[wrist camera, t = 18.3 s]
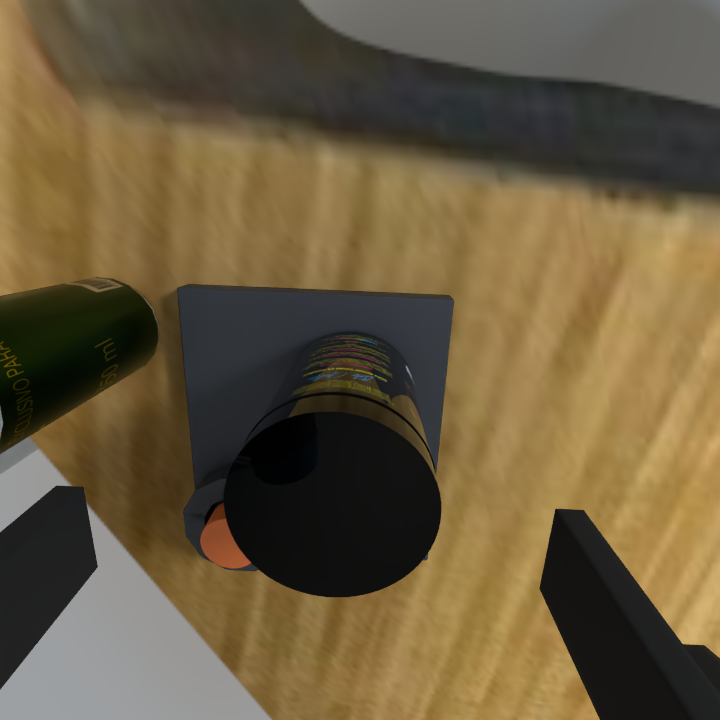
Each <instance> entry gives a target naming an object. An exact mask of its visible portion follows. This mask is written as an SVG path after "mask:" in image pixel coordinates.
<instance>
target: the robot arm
mask: <svg viewBox="0 0 720 720" xmlns="http://www.w3.org/2000/svg"><path fill="white" fill-rule="evenodd" d="M97 567H98V566H97V560H96V555H95V549H94V544H93V538H92V532H91V527H90V521H89V516H88V510H87V504H86V499H85V493H84V488H83V487H73V486H55V487H54V488H53V489H52V490H51V491H49V492H48V493H47V494H46V495H45V496H43V497H42V498H41V499H40V500H39V501H37V502H36V503H35V504H34V505H33V506H31V507H30V508H29V509H28V510H27V511H25V512H24V513H23V514H22V515H21V516H20V517H18V518H17V519H16V520H15V521H13V522H12V523H11V524H10V525H9V526H7V527H6V528H5V529H4V530H3V531H1V532H0V689H1V688H2V687H3V685H4V684H5V683H6V682H7V680H8V679H9V678H10V676H11V675H12V674H13V673H14V672H15V670H16V669H17V668H18V667H19V665H20V664H21V663H22V662H23V660H24V659H25V658H26V656H27V655H28V654H29V653H30V651H31V650H32V649H33V648H34V646H35V645H36V644H37V643H38V641H39V640H40V639H41V638H42V636H43V635H44V634H45V633H46V631H47V630H48V629H49V628H50V626H51V625H52V624H53V622H54V621H55V620H56V619H57V617H58V616H59V615H60V614H61V612H62V611H63V610H64V609H65V607H66V606H67V605H68V604H69V602H70V601H71V600H72V599H73V597H74V596H75V595H76V594H77V592H78V591H79V590H80V589H81V587H82V586H83V585H84V584H85V582H86V581H87V580H88V579H89V577H90V576H91V575H92V573H93V572H94V571H95V570H96V568H97ZM540 591H541V593H542V595H543V597H544V599H545V601H546V604H547V606H548V608H549V610H550V612H551V614H552V617H553V619H554V621H555V623H556V625H557V627H558V630H559V632H560V634H561V636H562V638H563V640H564V643H565V645H566V647H567V649H568V651H569V654H570V656H571V658H572V660H573V662H574V664H575V667H576V669H577V671H578V673H579V675H580V677H581V680H582V682H583V684H584V686H585V688H586V690H587V693H588V695H589V697H590V699H591V701H592V703H593V706H594V708H595V710H596V712H597V714H598V716H599V719H600V720H720V658H719V657H718V656H716V655H715V654H714V653H713V652H712V651H710V650H709V649H708V648H707V647H706V646H704V645H686V644H682V643H681V641H680V640H679V639H678V637H677V636H676V635H675V633H674V632H673V630H672V629H671V628H670V626H669V625H668V624H667V622H666V621H665V620H664V618H663V617H662V616H661V614H660V613H659V612H658V610H657V609H656V607H655V606H654V605H653V603H652V602H651V601H650V599H649V598H648V597H647V595H646V594H645V593H644V591H643V590H642V589H641V587H640V586H639V584H638V583H637V582H636V580H635V579H634V578H633V576H632V575H631V574H630V572H629V571H628V570H627V568H626V567H625V566H624V564H623V563H622V561H621V560H620V559H619V557H618V556H617V555H616V553H615V552H614V551H613V549H612V548H611V547H610V545H609V544H608V543H607V541H606V540H605V538H604V537H603V536H602V534H601V533H600V532H599V530H598V529H597V528H596V526H595V525H594V524H593V522H592V521H591V520H590V518H589V517H588V515H587V514H586V513H585V511H584V510H570V509H555V514H554V519H553V524H552V529H551V534H550V539H549V544H548V549H547V554H546V559H545V564H544V569H543V574H542V579H541V584H540Z"/></svg>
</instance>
